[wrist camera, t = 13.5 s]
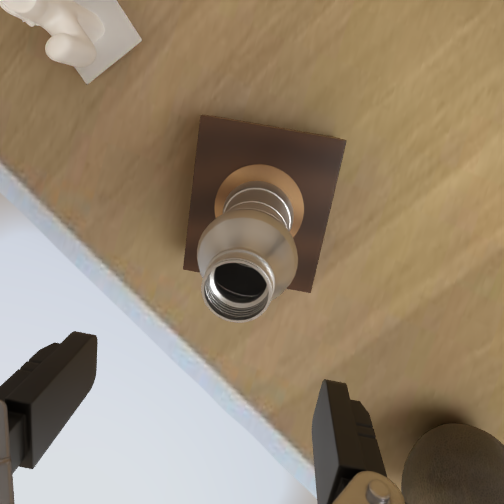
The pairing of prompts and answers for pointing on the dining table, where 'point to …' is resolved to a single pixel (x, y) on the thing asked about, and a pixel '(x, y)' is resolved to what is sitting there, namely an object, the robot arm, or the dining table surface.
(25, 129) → the dining table surface
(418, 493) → the cantaloupe
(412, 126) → the dining table surface
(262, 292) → the metal bottle
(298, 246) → the walnut box
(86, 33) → the figurine
